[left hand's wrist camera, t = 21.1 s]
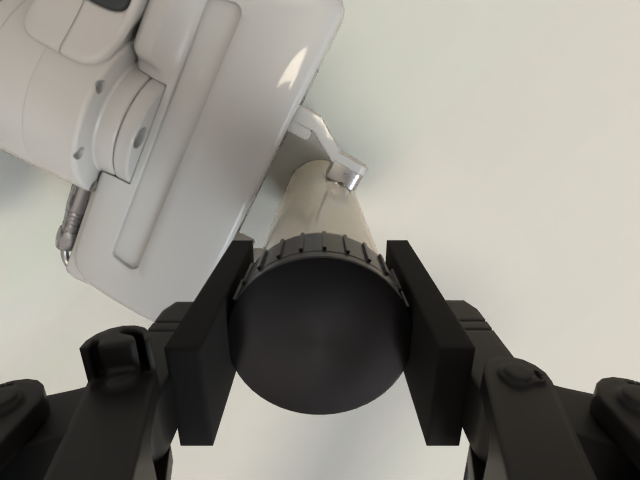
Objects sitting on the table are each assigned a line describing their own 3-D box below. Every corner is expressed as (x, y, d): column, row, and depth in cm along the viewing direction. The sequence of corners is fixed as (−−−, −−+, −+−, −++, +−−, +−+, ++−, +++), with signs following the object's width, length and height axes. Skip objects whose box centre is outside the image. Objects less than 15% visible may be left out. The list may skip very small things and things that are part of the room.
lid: (363, 201, 11) (372, 220, 9) (424, 341, 12) (442, 380, 11) (206, 271, 12) (186, 301, 10) (283, 395, 13) (278, 439, 11)
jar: (319, 145, 26) (319, 216, 10) (365, 191, 27) (432, 324, 11) (274, 192, 27) (206, 325, 11) (320, 235, 29) (320, 413, 12)
